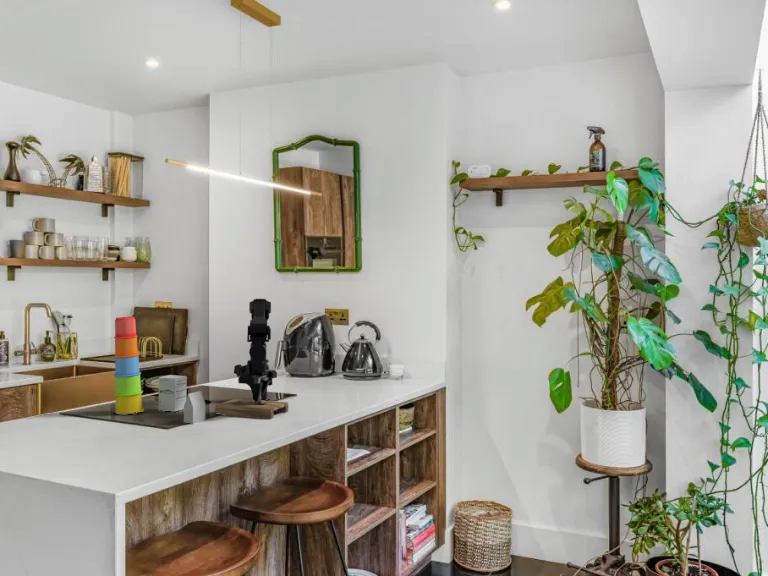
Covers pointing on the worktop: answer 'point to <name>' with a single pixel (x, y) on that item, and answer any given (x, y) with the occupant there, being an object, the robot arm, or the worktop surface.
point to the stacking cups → (127, 367)
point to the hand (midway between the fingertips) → (258, 400)
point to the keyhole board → (251, 408)
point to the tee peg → (258, 401)
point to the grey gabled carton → (194, 408)
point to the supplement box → (172, 392)
